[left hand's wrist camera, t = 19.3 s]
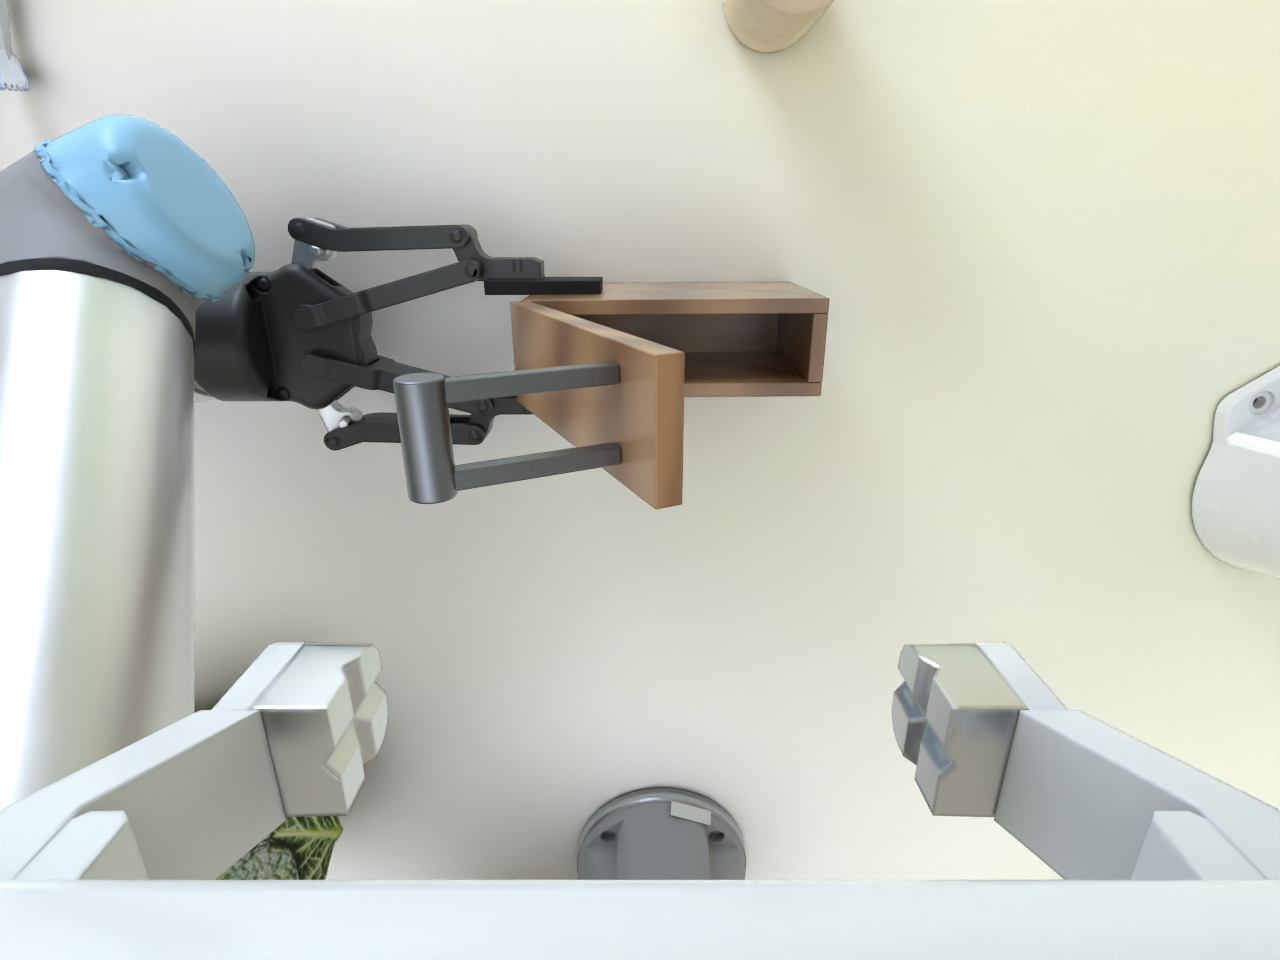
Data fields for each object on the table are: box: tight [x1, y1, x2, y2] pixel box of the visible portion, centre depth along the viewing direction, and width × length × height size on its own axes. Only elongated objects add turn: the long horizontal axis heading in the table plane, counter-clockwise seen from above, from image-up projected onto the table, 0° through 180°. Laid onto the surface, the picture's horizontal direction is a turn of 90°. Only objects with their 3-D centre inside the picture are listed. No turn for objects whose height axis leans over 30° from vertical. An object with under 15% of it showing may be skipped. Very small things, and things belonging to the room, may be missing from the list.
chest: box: [522, 282, 829, 397], centre depth 42 cm, size 16×5×10 cm, turn 90°
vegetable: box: [215, 816, 343, 880], centre depth 52 cm, size 20×19×20 cm
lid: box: [393, 301, 685, 509], centre depth 28 cm, size 17×5×8 cm
